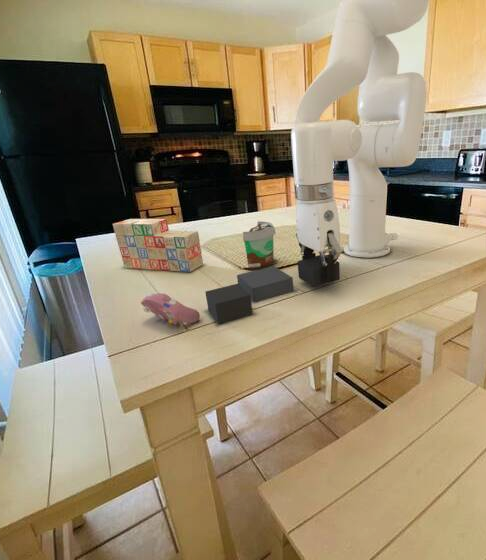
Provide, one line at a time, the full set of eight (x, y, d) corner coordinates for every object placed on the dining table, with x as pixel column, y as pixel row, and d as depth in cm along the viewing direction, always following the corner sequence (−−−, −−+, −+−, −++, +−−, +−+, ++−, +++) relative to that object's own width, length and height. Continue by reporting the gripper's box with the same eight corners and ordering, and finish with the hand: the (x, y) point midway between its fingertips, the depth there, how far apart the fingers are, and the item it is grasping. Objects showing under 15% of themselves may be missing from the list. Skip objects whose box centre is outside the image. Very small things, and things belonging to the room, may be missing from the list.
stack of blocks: (204, 264, 90) (196, 219, 85) (190, 273, 84) (181, 224, 80) (140, 260, 97) (129, 217, 92) (123, 267, 91) (111, 223, 86)
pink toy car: (154, 323, 64) (130, 300, 59) (170, 305, 66) (148, 281, 61) (188, 337, 59) (165, 312, 54) (204, 316, 61) (183, 291, 56)
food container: (270, 272, 82) (267, 232, 78) (246, 272, 83) (242, 232, 79) (283, 256, 93) (280, 220, 89) (261, 256, 94) (258, 220, 90)
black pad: (240, 301, 67) (237, 283, 66) (252, 314, 62) (250, 294, 60) (208, 310, 64) (205, 291, 63) (218, 324, 59) (215, 304, 58)
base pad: (274, 278, 78) (273, 266, 77) (293, 290, 71) (292, 277, 70) (238, 287, 74) (236, 274, 73) (254, 301, 67) (252, 288, 66)
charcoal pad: (323, 270, 77) (322, 254, 75) (340, 279, 72) (339, 262, 70) (298, 277, 74) (297, 260, 73) (314, 287, 69) (313, 269, 67)
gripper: (357, 194, 60) (357, 284, 67) (307, 185, 74) (312, 261, 81) (322, 201, 57) (326, 295, 64) (277, 190, 71) (285, 268, 78)
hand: (318, 275), depth 73 cm, fingers closed on charcoal pad, 6 cm apart
